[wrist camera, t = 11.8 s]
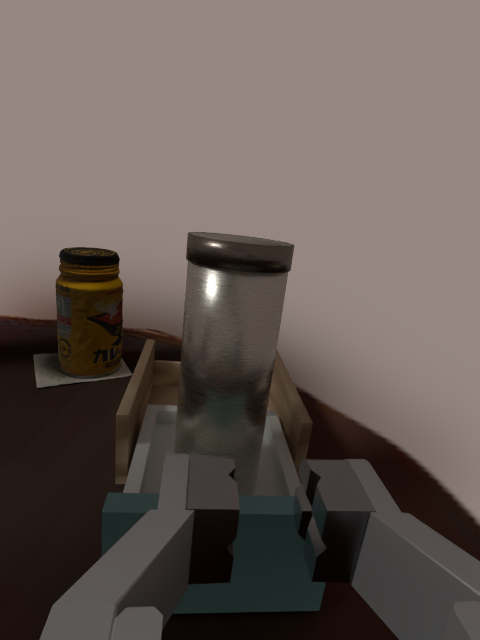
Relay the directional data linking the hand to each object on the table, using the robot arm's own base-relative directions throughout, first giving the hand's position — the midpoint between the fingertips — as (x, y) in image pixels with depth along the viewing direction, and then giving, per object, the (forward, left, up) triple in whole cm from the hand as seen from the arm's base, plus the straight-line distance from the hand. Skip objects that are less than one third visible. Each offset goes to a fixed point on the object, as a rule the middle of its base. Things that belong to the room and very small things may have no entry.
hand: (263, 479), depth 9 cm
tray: (0, +12, -11) cm, 17 cm away
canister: (0, +11, -9) cm, 15 cm away
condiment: (-13, +29, -12) cm, 34 cm away
